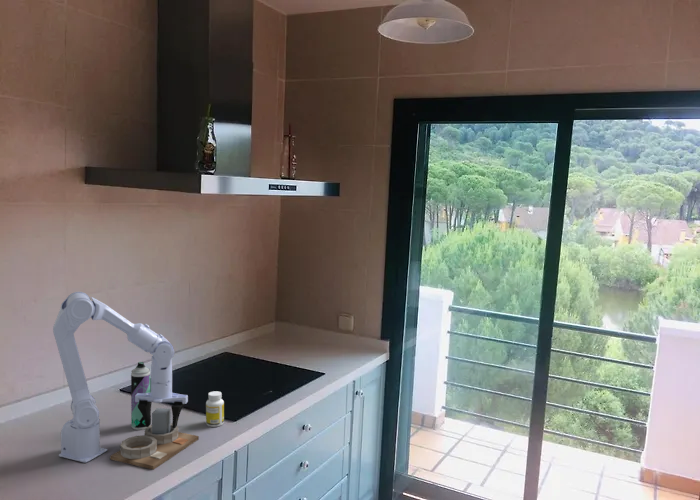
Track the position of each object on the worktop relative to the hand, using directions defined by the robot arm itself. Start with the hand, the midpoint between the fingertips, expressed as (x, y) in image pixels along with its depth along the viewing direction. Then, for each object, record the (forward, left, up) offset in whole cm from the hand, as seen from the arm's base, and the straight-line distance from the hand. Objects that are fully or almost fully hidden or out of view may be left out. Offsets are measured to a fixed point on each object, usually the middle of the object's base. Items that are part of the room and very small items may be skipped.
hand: (161, 426), depth 168 cm
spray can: (-12, +6, -5) cm, 14 cm away
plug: (0, 0, -3) cm, 3 cm away
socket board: (+2, -5, -4) cm, 7 cm away
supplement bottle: (+7, +17, -5) cm, 19 cm away
